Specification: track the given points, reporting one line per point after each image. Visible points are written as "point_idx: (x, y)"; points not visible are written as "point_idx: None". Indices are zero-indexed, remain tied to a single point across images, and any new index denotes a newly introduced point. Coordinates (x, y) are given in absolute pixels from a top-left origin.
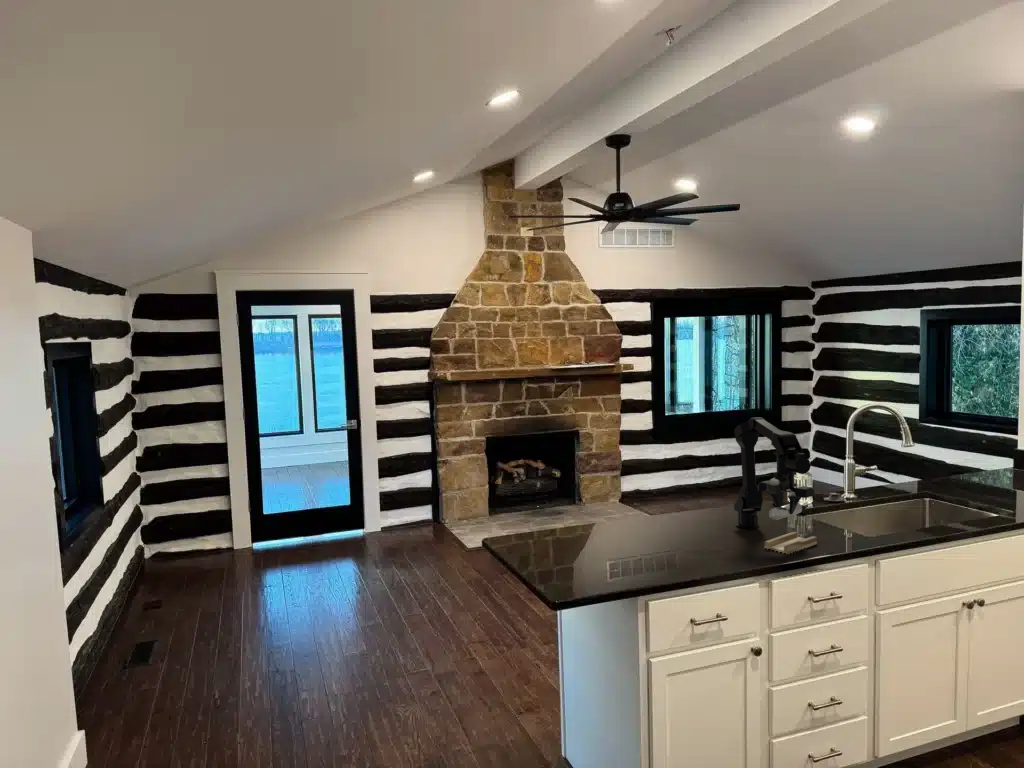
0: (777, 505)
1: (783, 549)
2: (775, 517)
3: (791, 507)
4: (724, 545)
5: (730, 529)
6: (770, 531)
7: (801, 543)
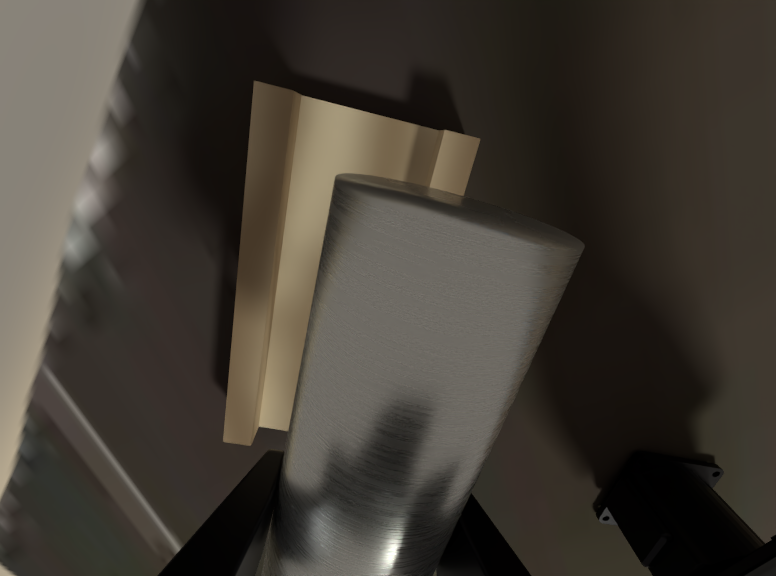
0: (506, 568)
1: (317, 127)
2: (414, 189)
3: (198, 544)
4: (768, 31)
5: (742, 407)
6: (525, 478)
7: (239, 278)
